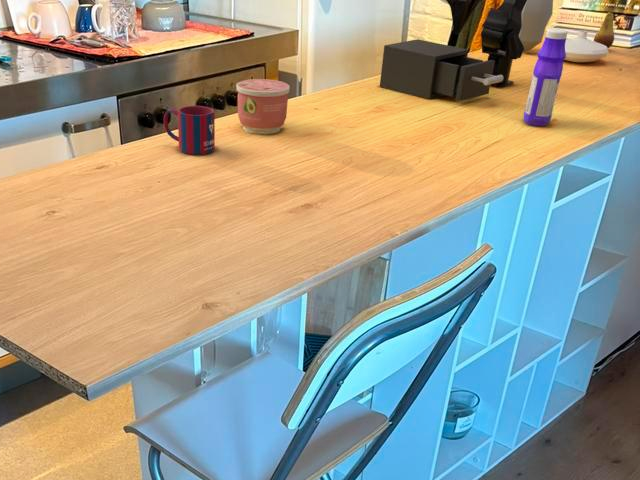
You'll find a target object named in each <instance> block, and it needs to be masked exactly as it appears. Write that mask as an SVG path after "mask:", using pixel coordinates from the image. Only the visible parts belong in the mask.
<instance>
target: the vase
mask: <svg viewBox="0 0 640 480" xmlns="http://www.w3.org/2000/svg"><path fill="white" fill-rule="evenodd" d="M587 35H588V31H587V30H582V29H581V30H578V33H577V36H576V37H572V38H571V37H570V38H566V42H565V53H566V57H565V59H564V60H563V61H567V62H571V63H592V62H597V61H600V60H601V59H603V58H605V57H607V55H608V53H609V52H610V51H609V48H607V46H605V45H603V44H600V43H597V42H595V41H594V40H592V39H588V38H587Z"/></svg>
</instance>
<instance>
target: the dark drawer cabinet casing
mask: <svg viewBox="0 0 640 480" xmlns="http://www.w3.org/2000/svg"><path fill="white" fill-rule="evenodd" d="M456 56H465V57H469V49H467V48H462V47H458V46H453V45H448V44H444V43H438V42H435V41H434V42H433V41H428V40H423V39H419V38H418V39H411V40H405V41H401V42H400V41H399V42H395V43H390V44H385V45H384V46H383V54H382V63H381V73H380V80H379V88H383V89H386V90H391V91H395V92H399V93H401V94H402V93H403V94H407V95H410V96H415V97H418V98H422V99H426V100H431V99H437V98H440V97H443V96H444V97H445V95H443V94H439V93H435V92H432V91H433V85H434V78H435V72H436V65H437V60H441V59H446V58H451V57H456Z"/></svg>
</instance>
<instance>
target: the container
mask: <svg viewBox="0 0 640 480" xmlns="http://www.w3.org/2000/svg"><path fill="white" fill-rule="evenodd" d="M235 86H236V87H235V88H236V91H237V117H238V120H239V122H240V124H241V125H242V126H243V127H242V129H243V130H244V131H245V132H247V133H251V134H255V135H270V134H276V133H279V132H280V131H281V127H282V126H284V124H285V121H286V119H287V113H288V102H289V95H288V94H289V93H290V90H291V88H290V85H289V84H288V83H286V82H284V81H281V80H276V79H266V78H253V79H251V78H250V79H245V80H244V79H243V80H241V81H239V82H237V83H236V85H235Z"/></svg>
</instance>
